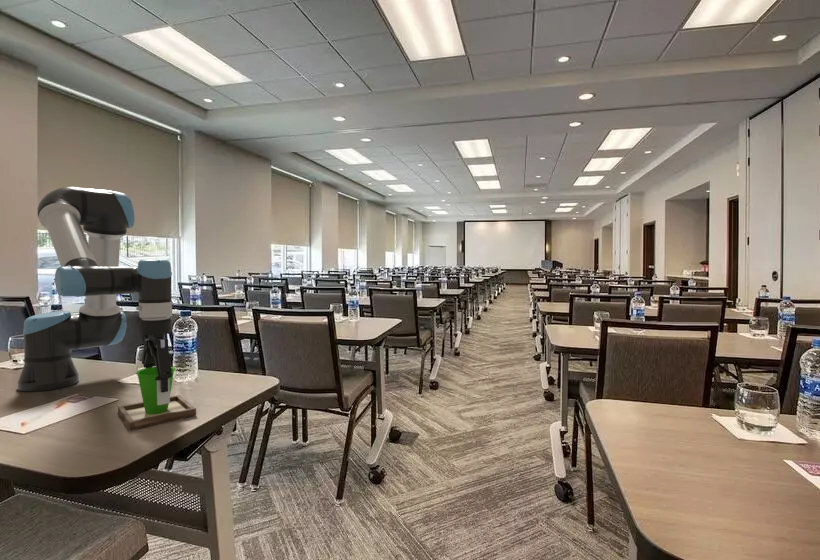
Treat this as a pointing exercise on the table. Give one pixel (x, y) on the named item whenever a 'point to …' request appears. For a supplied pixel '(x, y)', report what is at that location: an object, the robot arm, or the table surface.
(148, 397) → the cup
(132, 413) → the tray
